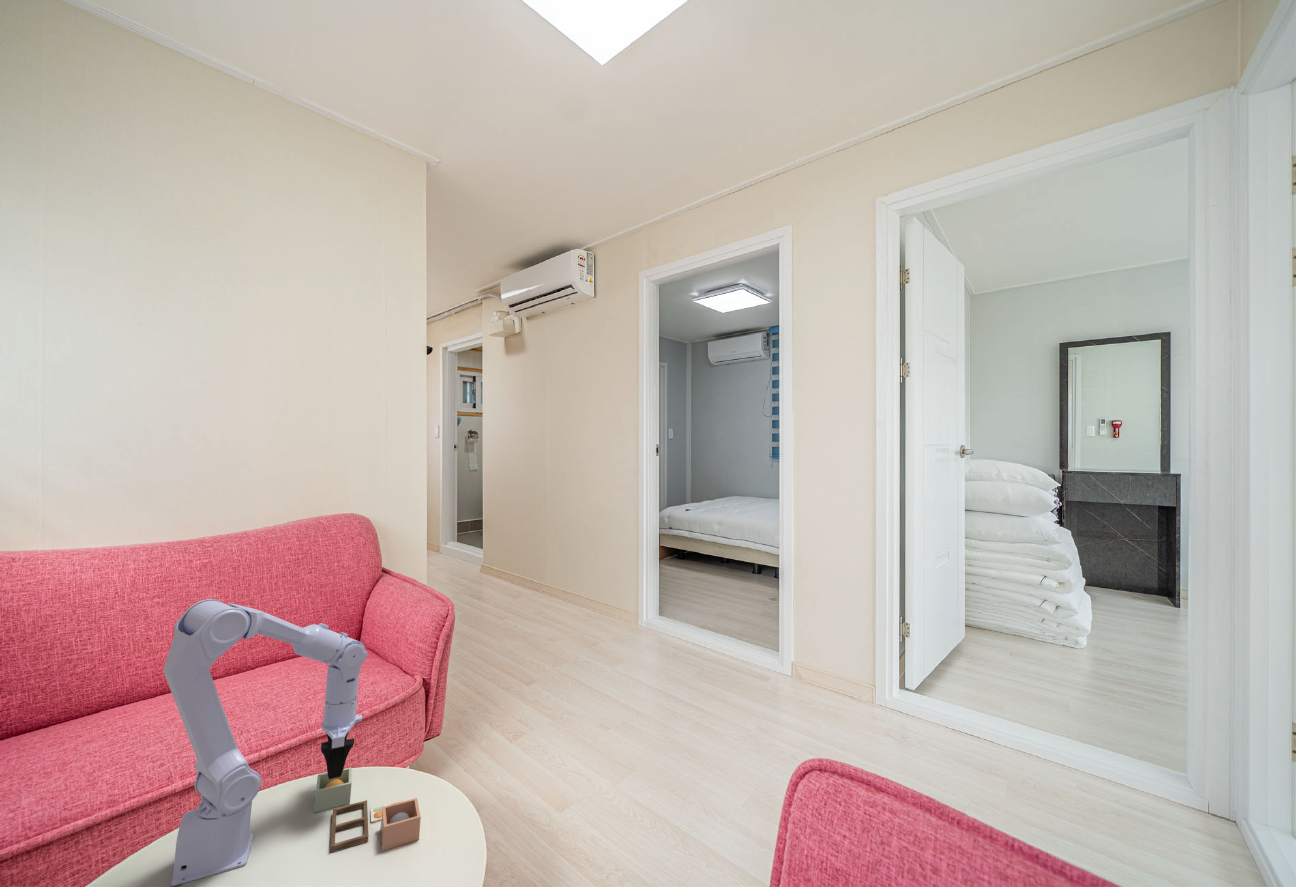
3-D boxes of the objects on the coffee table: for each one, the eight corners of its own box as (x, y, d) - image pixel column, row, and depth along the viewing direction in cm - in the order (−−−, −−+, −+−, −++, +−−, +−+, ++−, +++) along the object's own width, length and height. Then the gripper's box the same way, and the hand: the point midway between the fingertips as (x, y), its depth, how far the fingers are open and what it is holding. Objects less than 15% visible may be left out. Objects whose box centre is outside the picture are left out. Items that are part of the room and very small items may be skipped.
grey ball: (389, 844, 90) (388, 824, 90) (387, 831, 93) (387, 812, 93) (411, 836, 92) (410, 816, 92) (409, 823, 95) (408, 805, 95)
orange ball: (343, 802, 100) (344, 783, 100) (322, 807, 98) (323, 788, 98) (344, 791, 103) (345, 773, 103) (323, 796, 101) (325, 778, 102)
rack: (330, 852, 87) (330, 846, 87) (332, 814, 96) (332, 809, 96) (368, 841, 90) (368, 836, 90) (366, 805, 99) (367, 800, 99)
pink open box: (382, 850, 88) (384, 827, 88) (380, 829, 93) (382, 807, 93) (418, 839, 91) (420, 816, 91) (415, 819, 96) (417, 797, 96)
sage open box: (314, 812, 97) (315, 791, 97) (316, 795, 102) (317, 774, 102) (349, 803, 100) (351, 783, 100) (349, 786, 105) (351, 767, 105)
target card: (370, 823, 95) (371, 820, 95) (370, 810, 98) (370, 808, 98) (405, 813, 98) (405, 811, 98) (403, 801, 101) (404, 799, 101)
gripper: (364, 709, 98) (358, 781, 97) (363, 681, 110) (357, 744, 109) (321, 717, 94) (315, 791, 93) (325, 687, 107) (319, 752, 106)
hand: (335, 766), depth 101 cm, fingers open, 7 cm apart
